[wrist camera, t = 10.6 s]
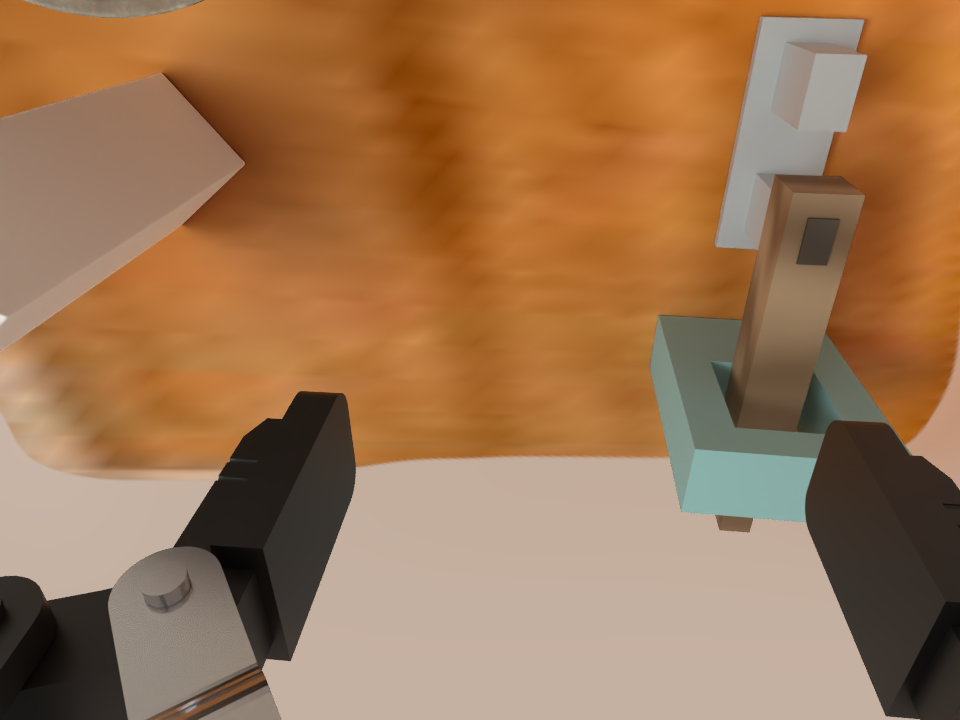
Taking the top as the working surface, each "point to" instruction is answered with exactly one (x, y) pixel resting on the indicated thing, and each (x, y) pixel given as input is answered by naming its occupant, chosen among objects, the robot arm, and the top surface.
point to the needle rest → (788, 114)
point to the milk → (96, 190)
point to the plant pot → (115, 7)
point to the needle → (789, 303)
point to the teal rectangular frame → (740, 451)
